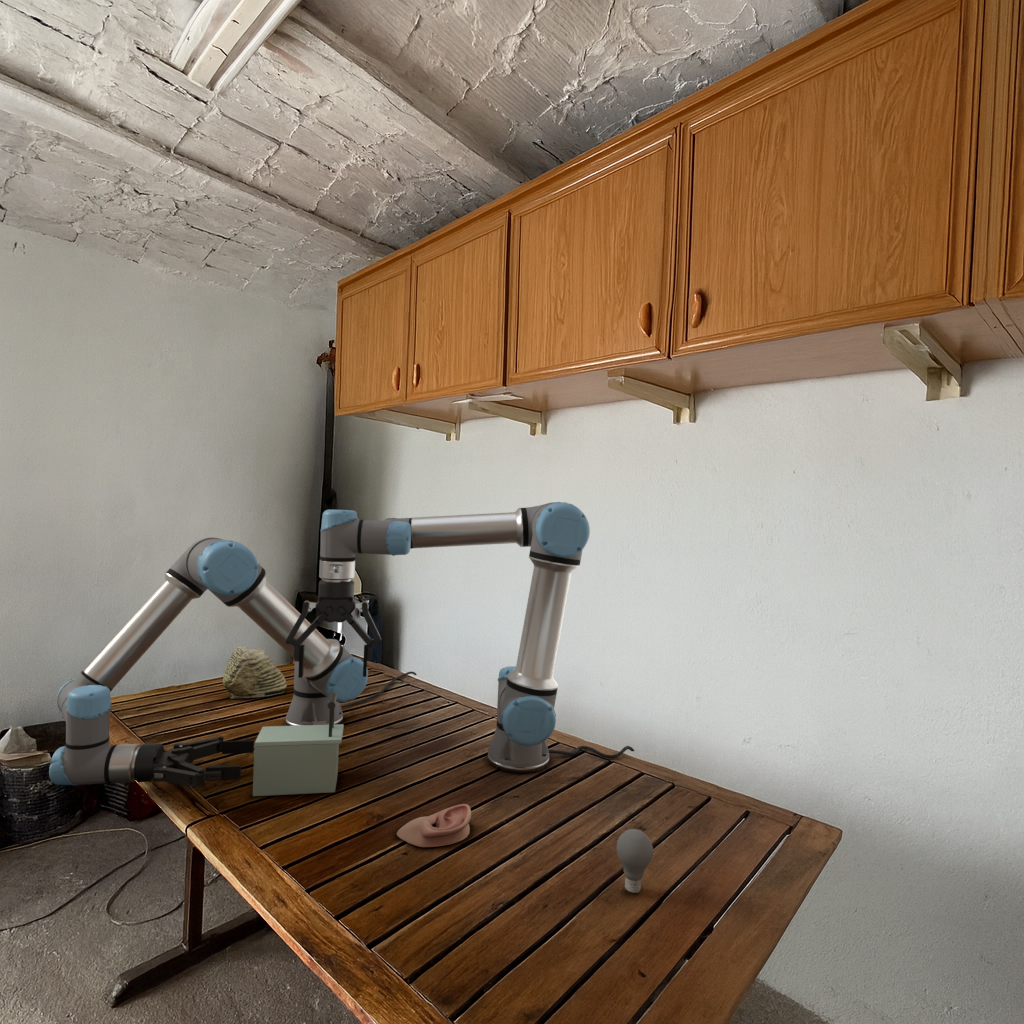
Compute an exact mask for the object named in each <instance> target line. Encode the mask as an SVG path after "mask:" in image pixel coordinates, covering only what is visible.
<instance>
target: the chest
mask: <svg viewBox="0 0 1024 1024" xmlns="http://www.w3.org/2000/svg"><path fill="white" fill-rule="evenodd" d="M339 750H340V743H338V744H308V745H279V746H255V745H254V752H253V774H252V775H253V776H252V777H253V779H252V797H265V796H267V797H269V796H285V795H286V796H287V795H304V794H306V795H307V794H327V793H336V787H337V783H338V782H337V781H338V776H339V775H338V774H339V754H340V753H339V752H340V751H339Z"/></svg>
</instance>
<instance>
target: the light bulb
mask: <svg viewBox="0 0 1024 1024" xmlns="http://www.w3.org/2000/svg"><path fill="white" fill-rule="evenodd" d="M615 849H616V854H617V857H618V859H619V861H620V863H621V865H622V867H623V873H624V874H623V875H624V876H625V878H624V888H625V890H627V891H628V892H630V893H634V894H635V893H639V892H640V891H641V889H642V887H641V886H642V879H643V877H644V875H645V871H646V868H647V867H648V866H649V864H650V863H651V861H652V859H653V855H654V847H653V843H652V841H651V838H649V836H648V835H647V834H646V833H645V832H643V831H642V830H641V829H636V828H629V829H627V830H625V831H623V832H622V833H621V834H620V835H619V837H618V839H617V841H616V847H615Z"/></svg>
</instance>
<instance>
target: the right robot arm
mask: <svg viewBox="0 0 1024 1024" xmlns="http://www.w3.org/2000/svg"><path fill="white" fill-rule="evenodd" d="M590 528H591V527H590V523H589V520H588V518H587V516H586V515H585V513H584V512H583V511H582V510H581V509H580V508H579V507H578V506H576V505H574V504H573V503H568V502H566V501H565V502H563V501H557V502H548V503H544V504H540V505H534V506H527V507H526V506H525V507H518V508H517V509H516V510H515V511H514V512H513V511H512V512H495V513H493V512H492V513H475V514H474V513H473V514H454V515H453V514H452V515H436V516H435V515H434V516H420V517H419V516H418V517H417V516H415V517H399V518H397V517H388V518H385V519H383V520H379V519H376V520H375V519H374V520H371V519H361V518H359V517H358V512H357V511H356V510H352V509H351V510H349V509H326V510H324V511H323V512H322V516H321V527H320V546H319V547H320V548H319V549H320V551H319V572H318V573H319V574H318V577H319V578H320V579H321V580H319V582H318V599H317V602H316V601H315V602H314V601H310V600H308V599H306V600H304V602H302V609H301V613H300V616H299V618H298V620H297V621H296V623H295V625H294V627H293V629H292V630H291V632H290V634H289V636H288V637H287V639H286V644H290V645H293V646H294V658H293V661H294V662H295V661H299V675H298V678H302V676H303V673H304V647H305V645H301V644H302V643H303V642H304V641H305V639H306V638H307V637H308V636H309V635H310V634H311V633H312V632H313V631H314V630H315V629H317V628H318V627H319V626H320V625H321V624H322V623H323V621H325V622H326V623H333V622H334V623H335V622H336V623H341V624H342V623H343V622H345V621H346V623H348V624H349V626H350V627H352V629H353V630H354V632H356V634H357V635H358V636H359V637H360V638H361V639H362V641H363V642H364V643H365V644H363V660H362V662H363V677H366V674H367V670H368V662H369V661H373V657H374V656H373V655H374V647H375V646H376V645H380V644H381V643H382V637H381V635H380V632H379V630H378V628H377V626H376V624H375V621H374V620H373V617H372V615H371V613H370V611H369V603H368V601H367V600H363V601H362V602H355V597H354V596H355V581H354V580H353V579H354V578H356V577H355V575H356V573H355V572H356V554H367V555H386V556H388V555H389V556H392V557H395V556H406V555H408V554H409V553H410V552H411V550H412V549H429V548H430V549H431V548H447V547H448V548H449V547H467V546H468V547H469V546H486V545H487V546H488V545H489V546H490V545H507V544H517V545H518V546H519V547H520V548H525V547H526V548H527V547H528V548H529V547H530V548H529V555H528V558H529V560H530V561H531V563H532V564H533V569H532V570H533V571H532V576H531V581H530V586H529V592H528V597H527V603H526V609H525V615H524V619H523V626H522V632H521V637H520V643H519V648H518V654H517V659H516V664H515V666H514V665H513V666H504V667H502V668H500V669H499V671H498V677H497V682H498V684H497V704H496V705H497V706H496V727H495V731H494V734H493V736H492V739H491V742H490V744H489V746H488V750H487V761H488V763H489V764H490V766H492V767H494V768H496V769H498V770H501V771H503V772H510V773H517V774H518V773H519V774H526V773H528V774H529V773H534V772H535V773H536V772H538V771H541V770H543V769H545V768H547V766H549V764H550V754H557V755H563V756H575V755H576V754H577V753H578V752H579V751H580V750H588V751H591V752H593V753H594V754H596V755H598V756H600V757H602V758H606V759H617V758H619V757H620V756H622V755H623V754H624V753H625V752H626V751H627V750H629V751H630V752H635V749H634V748H633V747H632V746H630V745H625V746H624V747H623V748H622V749H621V750H619V751H618V752H617V753H614V754H607V753H603V752H601V751H599V750H598V749H596V748H594V747H592V746H587V745H579V746H577V747H576V748H575V749H574V750H572V751H566V750H565V751H564V750H560V749H559V750H557V749H549V747H548V743H547V740H548V739H549V738H550V737H551V735H552V734H553V733H554V731H555V728H556V722H557V718H556V717H557V714H556V710H555V705H556V700H557V695H558V688H559V683H557V681H556V680H555V678H554V673H555V667H556V661H557V655H558V650H559V645H560V638H561V634H562V630H563V629H562V628H563V622H564V617H565V611H566V605H567V599H568V594H569V589H570V584H571V578H572V573H574V571H576V570H577V569H578V568H580V566H581V561H582V556H583V550H584V549H585V548H586V546H587V544H588V542H589V539H590V533H591V529H590ZM313 609H315V610H316V611H317V612H318V614H319V615H318V616H316V618H315V619H314V620H313V622H311V623H310V624H311V625H310V626H309V627H308V628H307V629H306V630H305V631H304V632H303V634H302V635H301V636H300V637H299V638H298V639H295V638H294V637H295V635H296V633H297V631H298V630H299V628H300V626H301V624H302V623H303V621H304V619H306V617H307V615H308V614H309V613H311V612H312V611H313ZM355 609H357V610H358V612H360V613H362V616H363V618H364V620H365V622H366V624H367V626H368V628H369V631H370V633H371V635H372V637H373V638H371V636H370V635H369V634H368V633H367V631H366V630H365V629H364V628H363V627H362V625H361V624H360V623H359V622H358V621H357V619H356V618H355V616H353V614H352V613H353V612H354V611H355Z"/></svg>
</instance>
